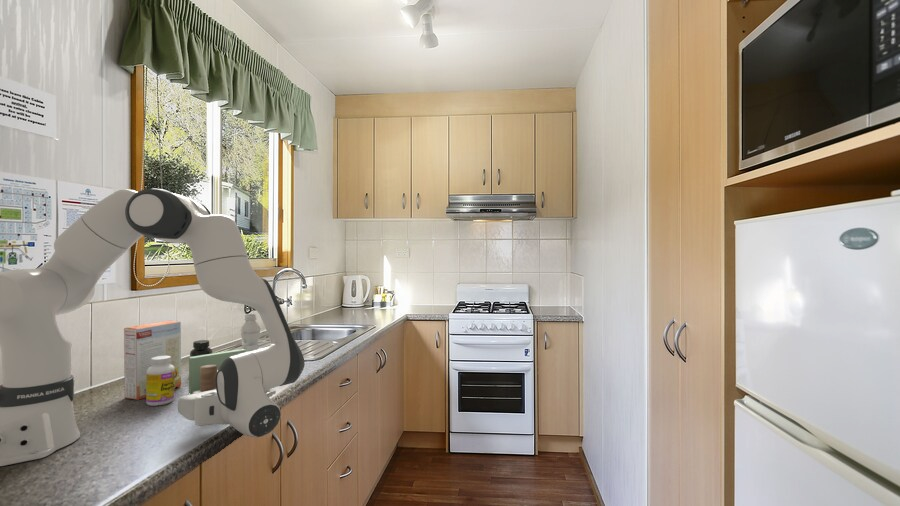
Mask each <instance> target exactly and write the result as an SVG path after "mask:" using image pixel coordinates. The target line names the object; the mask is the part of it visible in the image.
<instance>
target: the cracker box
mask: <svg viewBox="0 0 900 506" xmlns="http://www.w3.org/2000/svg"><path fill="white" fill-rule="evenodd" d="M181 324H182V323H181V321H178V320H177V321H176V320H175V321H174V320H165V321H160V322H152V323H145V324H140V325H134V326H129V327H124V328H123V359H124V360H123V361H124V366H123V367H124V370H123V371H124V372H123V374H124V386H123V387H124V399H130V400H137V401H138V400H141V399H142V400H143V399H145V398H146V384H147V370H148V368H150V367H151V366H152V364H151V358H153V357H157V356H171V361H170V364H171V365H173V366H174V368H175V378H174V389H176V387H177V388H179V387H181V386H182V355H181V354H182V347H181V346H182V345H181V344H182V343H181V342H182V339H181V338H182V337H181V336H182V332H181V330H182V328H181V327H182V325H181Z"/></svg>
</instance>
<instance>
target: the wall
mask: <svg viewBox="0 0 900 506" xmlns="http://www.w3.org/2000/svg"><path fill="white" fill-rule="evenodd" d="M244 352H246V350H245V349H242V348H241V349H233V350H227V351H221V352H220V351H219V352H215V353H213V352H212V354H207V355H200V356H194V357H190V356H189V357H188V394H189V393H190V394H192V393H193V392H195V391H200V367H202V366H205V365H217V370H218V369H219V367H220V366H221V364H222V363H223V361H224V360H225V359H226V358H227V357H231V356H234V355H237V354H241V353H244ZM190 394H189V395H190Z"/></svg>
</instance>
